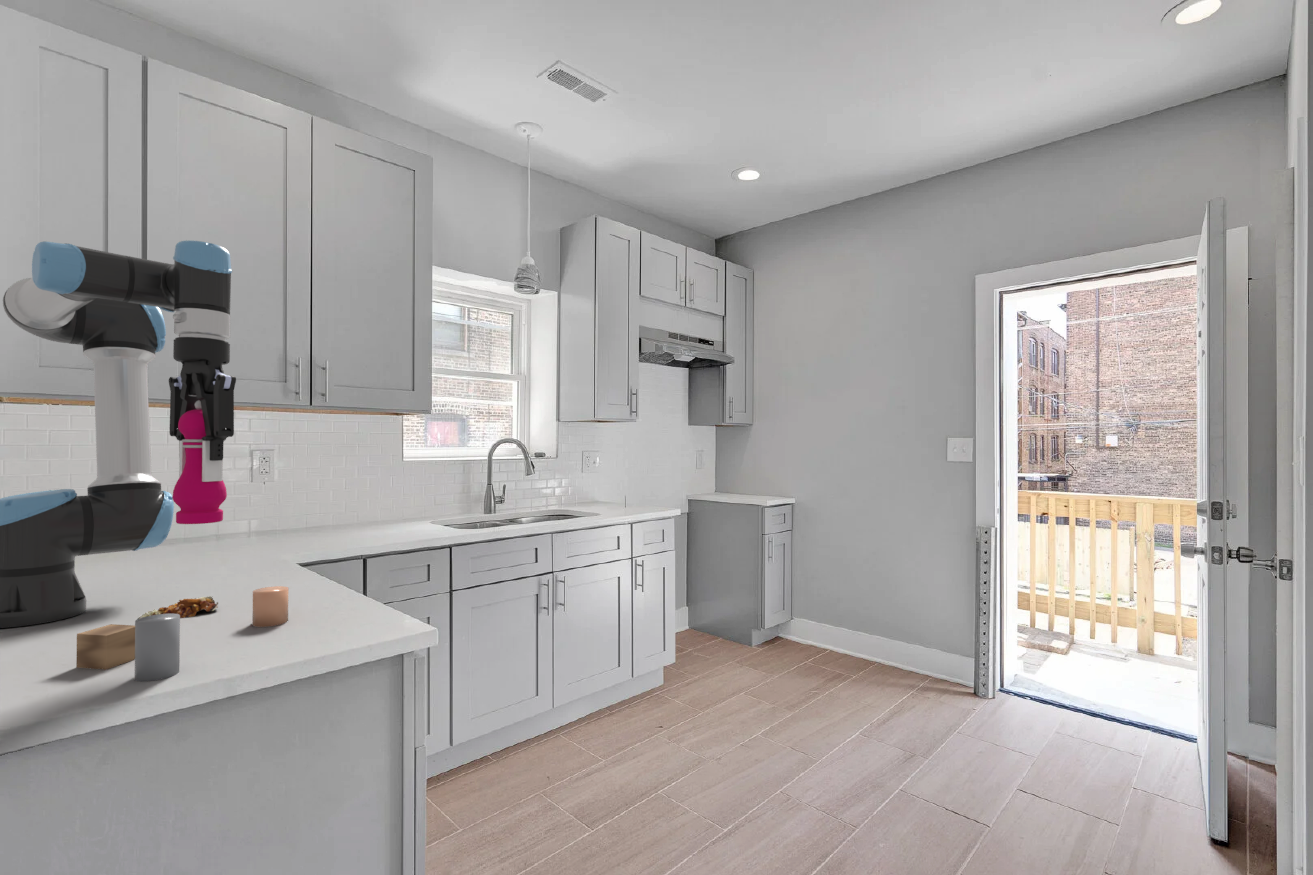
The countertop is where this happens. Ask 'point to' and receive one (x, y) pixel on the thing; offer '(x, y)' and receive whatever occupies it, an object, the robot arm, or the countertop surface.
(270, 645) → the countertop surface
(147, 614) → the brown lumpy mound
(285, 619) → the peach rounded cylinder
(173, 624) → the grey cylinder
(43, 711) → the countertop surface
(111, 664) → the tan block
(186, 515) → the pepper mill
